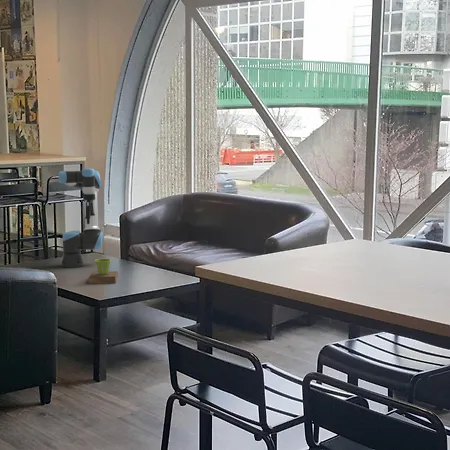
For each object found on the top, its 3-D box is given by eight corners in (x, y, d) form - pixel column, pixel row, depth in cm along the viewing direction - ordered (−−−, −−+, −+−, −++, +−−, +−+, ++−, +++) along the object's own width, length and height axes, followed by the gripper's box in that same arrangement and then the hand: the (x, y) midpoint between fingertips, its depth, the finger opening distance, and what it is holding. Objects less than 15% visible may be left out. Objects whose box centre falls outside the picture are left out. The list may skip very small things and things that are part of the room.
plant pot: (114, 273, 429) (114, 259, 428) (104, 276, 421) (103, 262, 420) (102, 272, 434) (102, 258, 433) (92, 274, 426) (91, 260, 425)
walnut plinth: (92, 278, 436) (92, 271, 435) (118, 277, 436) (118, 271, 436) (88, 283, 420) (88, 277, 419) (115, 283, 420) (115, 276, 420)
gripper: (85, 191, 447) (87, 224, 449) (79, 195, 422) (81, 230, 425) (97, 191, 447) (98, 224, 450) (92, 195, 422) (93, 230, 425)
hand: (90, 227), depth 437 cm, fingers open, 13 cm apart
